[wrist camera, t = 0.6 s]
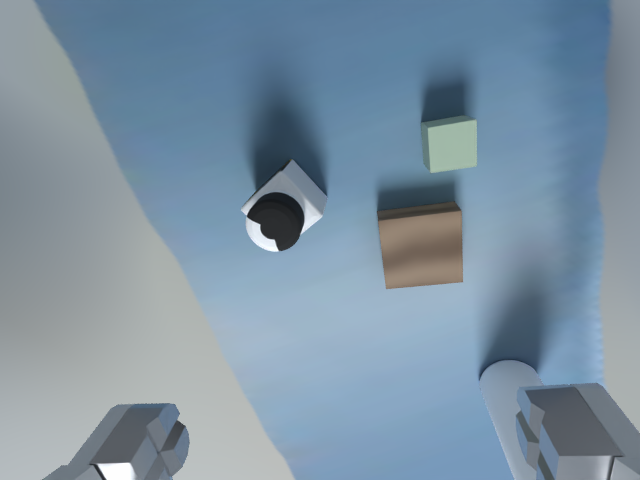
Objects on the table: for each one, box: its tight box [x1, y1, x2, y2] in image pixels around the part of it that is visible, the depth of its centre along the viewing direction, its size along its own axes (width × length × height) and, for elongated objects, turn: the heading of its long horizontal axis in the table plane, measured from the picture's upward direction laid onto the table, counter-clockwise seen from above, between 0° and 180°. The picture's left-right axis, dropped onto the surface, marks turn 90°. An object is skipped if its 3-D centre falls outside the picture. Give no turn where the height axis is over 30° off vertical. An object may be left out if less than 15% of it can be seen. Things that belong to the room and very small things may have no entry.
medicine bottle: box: [241, 159, 327, 251], centre depth 43 cm, size 7×7×12 cm
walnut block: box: [377, 201, 463, 289], centre depth 48 cm, size 10×10×4 cm
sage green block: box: [421, 115, 477, 173], centre depth 42 cm, size 5×5×5 cm
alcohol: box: [479, 360, 544, 480], centre depth 44 cm, size 9×9×30 cm
